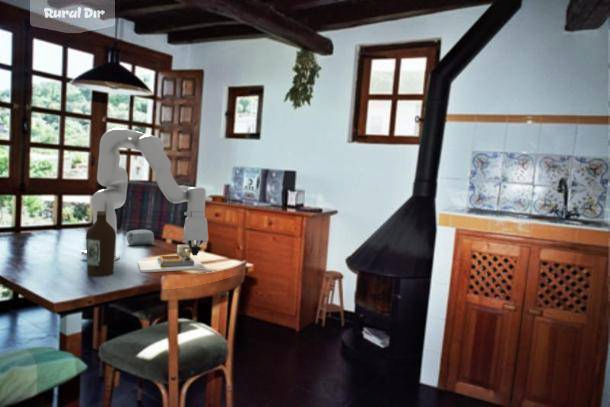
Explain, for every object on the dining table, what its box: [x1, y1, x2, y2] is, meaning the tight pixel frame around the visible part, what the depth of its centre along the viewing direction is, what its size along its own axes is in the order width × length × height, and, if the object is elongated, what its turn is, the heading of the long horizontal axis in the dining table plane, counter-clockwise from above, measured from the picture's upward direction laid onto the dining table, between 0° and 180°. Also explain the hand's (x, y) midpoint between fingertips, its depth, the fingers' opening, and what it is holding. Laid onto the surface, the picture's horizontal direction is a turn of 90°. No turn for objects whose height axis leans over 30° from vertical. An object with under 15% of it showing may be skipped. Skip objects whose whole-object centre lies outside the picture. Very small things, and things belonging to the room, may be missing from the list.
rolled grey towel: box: [126, 229, 155, 246], centre depth 227 cm, size 14×10×10 cm
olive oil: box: [85, 211, 117, 277], centre depth 167 cm, size 11×11×25 cm
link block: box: [176, 244, 190, 257], centre depth 203 cm, size 5×5×6 cm
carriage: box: [157, 248, 194, 267], centre depth 187 cm, size 14×10×6 cm
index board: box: [136, 258, 205, 273], centre depth 186 cm, size 26×16×1 cm, turn 116°
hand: (194, 254), depth 191 cm, fingers closed
